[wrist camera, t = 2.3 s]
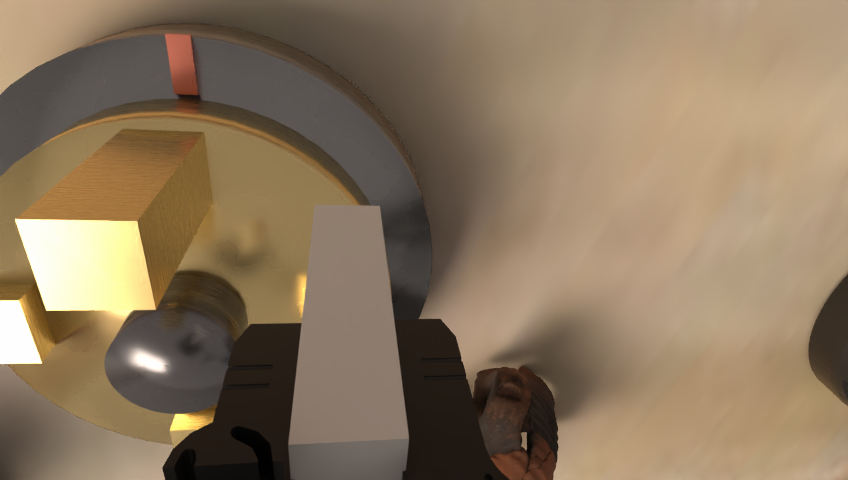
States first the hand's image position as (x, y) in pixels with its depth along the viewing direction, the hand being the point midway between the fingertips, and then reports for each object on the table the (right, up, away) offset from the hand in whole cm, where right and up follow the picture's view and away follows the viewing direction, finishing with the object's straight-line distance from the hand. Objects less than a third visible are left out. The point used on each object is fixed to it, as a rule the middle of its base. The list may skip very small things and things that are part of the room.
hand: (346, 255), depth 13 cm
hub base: (-8, +1, +12) cm, 14 cm away
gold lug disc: (-7, -1, +9) cm, 12 cm away
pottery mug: (+5, -10, +20) cm, 23 cm away
